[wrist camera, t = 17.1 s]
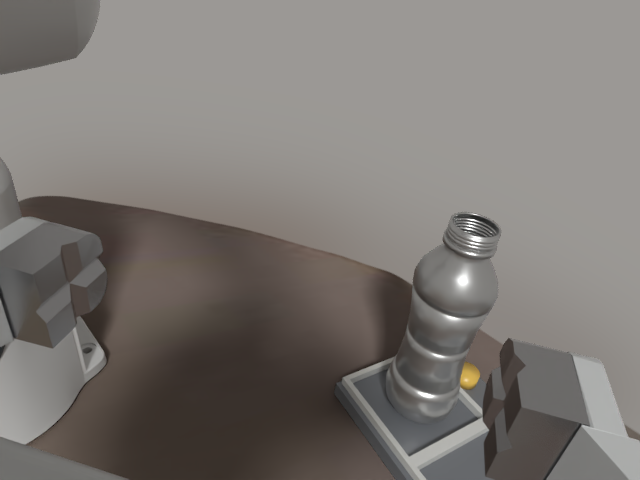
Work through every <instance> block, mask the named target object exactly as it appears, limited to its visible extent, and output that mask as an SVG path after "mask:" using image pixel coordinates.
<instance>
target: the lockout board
mask: <svg viewBox="0 0 640 480" xmlns="http://www.w3.org/2000/svg"><path fill="white" fill-rule="evenodd" d="M393 359H394V357H392V358H390V359H387V360H385V361H382V362H380V363H377V364H375V365H372V366H370V367H367V368H365V369H362V370H360V371H357V372H355V373H352V374H350V375H347V376H345V377H343V378H342V381H340V382H338V383H336V386H335V391H334V394H335V395H336V397H337V398H338V400H339V401H340V402H341V404H342V405H343V407H344V408H345V409H346V411H347V412H348V414H349V415H350V416H351V418H352V419H353V421H354V422H355V423H356V425H357V426H358V428H359V429H360V430H361V432H362V433H363V435H364V436H365V437H366V439H367V440H368V442H369V443H370V444H371V446H372V447H373V449H374V450H375V451H376V453H377V454H378V456H379V457H380V458H381V460H382V461H383V463H384V464H385V465H386V467H387V468H388V470H389V471H390V472H391V474H392V475H393V477H394V478H395V479H396V480H494V479H491V478H488V477H485V462H484V441H485V438H486V436H487V434H488V432H489V429H488V428H487V427H486V425H485V424H484V422H483V414H482V408H483V397H484V393H485V388H486V383H485V382H484V381H483V380H482V379H481V378H480V373H479V370H478V369H477V368H476V367H475V366H474V365H472V364H470V363H468V362H464V366H463V370H462V374H461V378H460V380H461V381H460V390H459V395H458V400H457V403H456V405H455V407H454V408H453V410H452V411H451V412H450V414H449V415H448V416H447V417H446V418H445V419H443V420H441V421H439V422H435V423H430V424H421V423H416V422H413V421H411V420H408V419H407V418H405V417H403V416H402V415H401V414H400V413H398V411H397V410H396V409H395V408H394V407H393V405H392V404H391V402H390V401H389V399H388V396H387V393H386V375H387V371H388V369H389V367H390V365H391V362H392V360H393Z"/></svg>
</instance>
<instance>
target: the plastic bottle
mask: <svg viewBox="0 0 640 480" xmlns="http://www.w3.org/2000/svg"><path fill="white" fill-rule="evenodd" d="M500 236H501V228H500V227H499V226H498V224H496V223H495V222H494V221H492V220H490V219H489V218H487V217H485V216H482V215H479V214H475V213H469V212H461V213H456V214H454V215H453V216H452V217H451V219H450V221H449V224H448V228H447V229H446V231H445V232H444V235H443V242H444V244H442V245H440V246H438V247H436V248H435V249H433V250H431V251H430V252H429V253H427V254H426V255H424V257H423V258H422V259H421V260H420V262H419V263H418V265H417V266H416V268H415V272H414V277H413V287H412V299H411V309H410V313H409V318H408V324H407V328H406V333H405V335H404V338H403V340H402V343H401V345H400V348H399V350H398V353H397V354H396V356H395V357H394V359H393V360H392V362H391V365H390V367H389V369H388V371H387V375H386V393H387V396H388V399H389V401H390V402H391V404H392V405H393V407H394V408H395V409H396V410H397V411H398V413H400V414H401V415H402V416H403V417H405V418H407V419H408V420H411V421H413V422H416V423H421V424H430V423H435V422H439V421H441V420H443V419H445V418H446V417H447V416H448V415H449V414H450V412H451V411H452V410H453V408H454V407H455V405H456V403H457V400H458V395H459V390H460V381H461V380H460V378H461V374H462V370H463V366H464V362H465V359H466V355H467V353H468V351H469V349H470V346H471V344H472V342H473V340H474V338H475V336H476V333H477V331H478V330H479V328H480V327H481V325H482V323H483V322H484V320H485V318H486V317H487V315H488V314H489V312H490V310H491V309H492V307H493V305H494V303H495V301H496V299H497V296H498V280H497V276H496V273H495V270H494V267H493V265H492V262H491V260H490V258H491V257H493V256H494V254H495V252H496V250H497V243H498V241H499V238H500Z"/></svg>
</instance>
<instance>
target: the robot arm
mask: <svg viewBox="0 0 640 480" xmlns="http://www.w3.org/2000/svg"><path fill="white" fill-rule="evenodd" d="M99 8H100V0H0V74H1V75H2V74H7V73H12V72H17V71H22V70H27V69H31V68H36V67H41V66H45V65H49V64H54V63H58V62H62V61H66V60H70V59H74V58H76V57H77V56H78V55H79V54H80V53H81V52H82V50H83V49H84V48H85V46H86V45H87V43H88V42H89V40H90V38H91V36H92V34H93V32H94V29H95V26H96V23H97V19H98V14H99ZM102 253H103V249H102V244H101V239H100V238H99V237H98V236H97V235H95V234H94V233H90V232H87V231H83V230H79V229H76V228H72V227H69V226H65V225H61V224H58V223H54V222H49V221H46V220H42V219H38V218H35V217H22V215H21V211H20V207H19V203H18V199H17V196H16V192H15V188H14V184H13V180H12V176H11V173H10V171H9V169H8V168H7V166H6V164H5V163H4V162H3V160H2V159H1V158H0V480H130V479H127V478H124V477H121V476H118V475H115V474H112V473H109V472H106V471H103V470H100V469H97V468H94V467H91V466H88V465H84V464H81V463H78V462H75V461H72V460H69V459H66V458H63V457H60V456H57V455H54V454H51V453H48V452H45V451H42V450H39V449H36V448H33V447H30V446H27V445H25V444H27V443H29V442H30V441H32V440H34V439H35V438H37V437H38V436H40V435H41V434H42V433H44V432H45V431H46V430H48V429H49V428H50V427H51V426H52V425H54V424H55V423H56V422H57V421H58V420H59V419H60V418H61V417H62V416H63V415H64V413H65V412H66V411H67V410H68V409H69V407H70V406H71V404H72V403H73V401H74V400H75V398H76V396H77V395H78V393H79V391H80V390H81V388H82V387H83V385H84V384H85V383H86V382H87V381H89V380H90V379H91V378H92V377H94V376H95V375H96V374H97V373H98V372H99V371H100V370H101V369H102V368H103V367H104V366H105V364H106V362H107V359H106V356H105V353H104V351H103V349H102V348H101V346H100V345H99V343H98V342H97V340H96V339H95V337H94V336H93V334H92V333H91V331H90V330H89V328H88V327H87V325H86V324H85V322H84V321H83V319H82V318H81V315H84V314H87V313H89V312H91V311H92V310H93V309H94V308H95V307H96V306H97V305H98V304H99V303H100V301H101V299H102V297H103V295H104V293H105V291H106V286H107V273H106V269H105V267H104V266H103V265H102V264H101V262H100V261H99V260H98V258H99V257H100V255H101V254H102ZM88 352H90V353H88ZM86 353H87V354H86ZM482 414H483V422H484V424H485V425H486V427H487V428H488V429H489V432H488V434H487V436H486V438H485V441H484V462H485V477H488V478H491V479H494V480H640V442H639V441H638V440H635V439H632V438H628V435H627V432H626V429H625V426H624V423H623V420H622V418H621V415H620V412H619V409H618V406H617V403H616V400H615V397H614V394H613V392H612V389H611V386H610V383H609V380H608V378H607V374H606V371H605V369H604V366H603V363H602V362H601V361H600V360H599V359H597V358H593V357H589V356H584V355H580V354H576V353H571V352H563V351H560V350H555V349H551V348H547V347H543V346H539V345H535V344H531V343H527V342H523V341H519V340H515V339H511V338H508V339H507V341H506V342H505V343H504V345H503V347H502V349H501V351H500V367H498V368H496V369H494V370H492V372H491V374H490V377H489V379H488V382H487V384H486V388H485V393H484V397H483V408H482Z"/></svg>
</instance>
